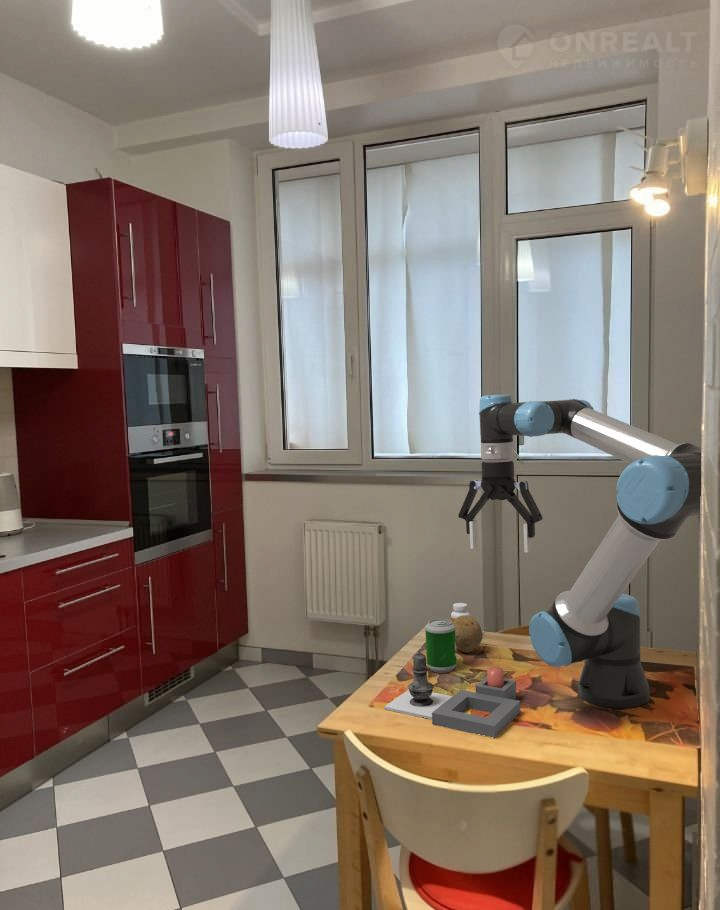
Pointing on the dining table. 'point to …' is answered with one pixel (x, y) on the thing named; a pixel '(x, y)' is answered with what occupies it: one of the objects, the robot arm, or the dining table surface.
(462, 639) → the brown potato
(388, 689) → the dining table surface
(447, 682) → the dining table surface
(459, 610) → the supplement bottle
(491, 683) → the plunger
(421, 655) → the dark grey figurine
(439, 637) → the soda can
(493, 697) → the socket housing
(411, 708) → the grey mat
